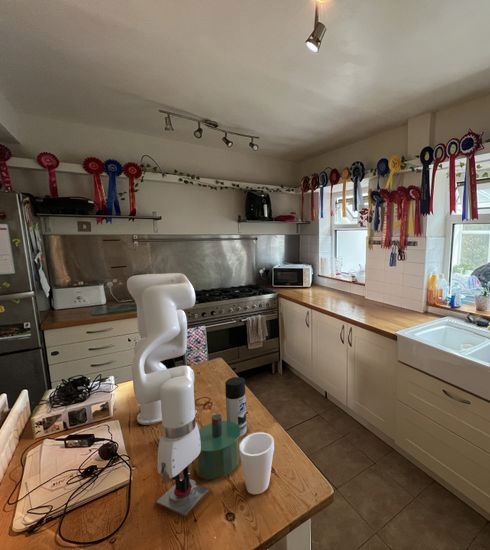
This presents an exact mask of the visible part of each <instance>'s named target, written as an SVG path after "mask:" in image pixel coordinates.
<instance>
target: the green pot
mask: <svg viewBox="0 0 490 550" xmlns="http://www.w3.org/2000/svg"><path fill="white" fill-rule="evenodd" d="M239 462H240V437H239V438H238V440H237V441H236V442H235V443H234V444H232V445H231V446H229V447H228V448H226V449H223V450H221V451H217V452H210V453H206V452H200V454H199V456H198V457H197V458H196V459H195V461H194V471H195V474H196V475H197V476H198V477H199V478H201V479H204V480H217V479H219V478H223V477H225V476H227V475H228V474H230V473H232V472H233V471H234V470H235V469H236V467H237V466H238V464H239Z"/></svg>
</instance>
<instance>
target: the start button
mask: <svg viewBox="0 0 490 550" xmlns="http://www.w3.org/2000/svg"><path fill="white" fill-rule="evenodd" d="M189 491H190V488H189V489H188V490H187V491H186V492H185V493H183V492H181V491H177V490H175V495H176V496H183V495H185V494H187V493H188V492H189Z"/></svg>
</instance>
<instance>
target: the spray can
mask: <svg viewBox="0 0 490 550" xmlns="http://www.w3.org/2000/svg"><path fill="white" fill-rule="evenodd" d="M224 384H225V385H224V386H225V388H224V389H225V411H226V412H225V413H226V421H231V422H234V423H236V424H238V425H239V427H240V430H241V433H240V436H239V438H240V437H243V436H244V435H246V434H247V431H248V430H247V429H248V427H247V426H248V425H247V401H246V400H247V399H246V398H247V397H246V395H247V394H246V380H245V378H244V377H240V376H234V377H233V376H232V377H230V378H228V379H227V380H226V381H225V382H224Z"/></svg>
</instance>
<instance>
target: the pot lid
mask: <svg viewBox="0 0 490 550" xmlns="http://www.w3.org/2000/svg"><path fill="white" fill-rule="evenodd" d="M210 418H211V423H208V424H206V425H203V427H201V428H200V429H199V434H200V442H201V451H200V452H206V453H210V452H217V451H221V450H223V449H226V448H228V447H229V446H231V445H232V444H234V443H235V442H236V441H237V440H238V438H239V439H240V437H241V436H240V433H241V430H240V427H239V425H238V424H236V423H234V422H231V421H227V420H222V414H221V413H214V414H213V415H212V416H211V417H210ZM239 436H240V437H239Z"/></svg>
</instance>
